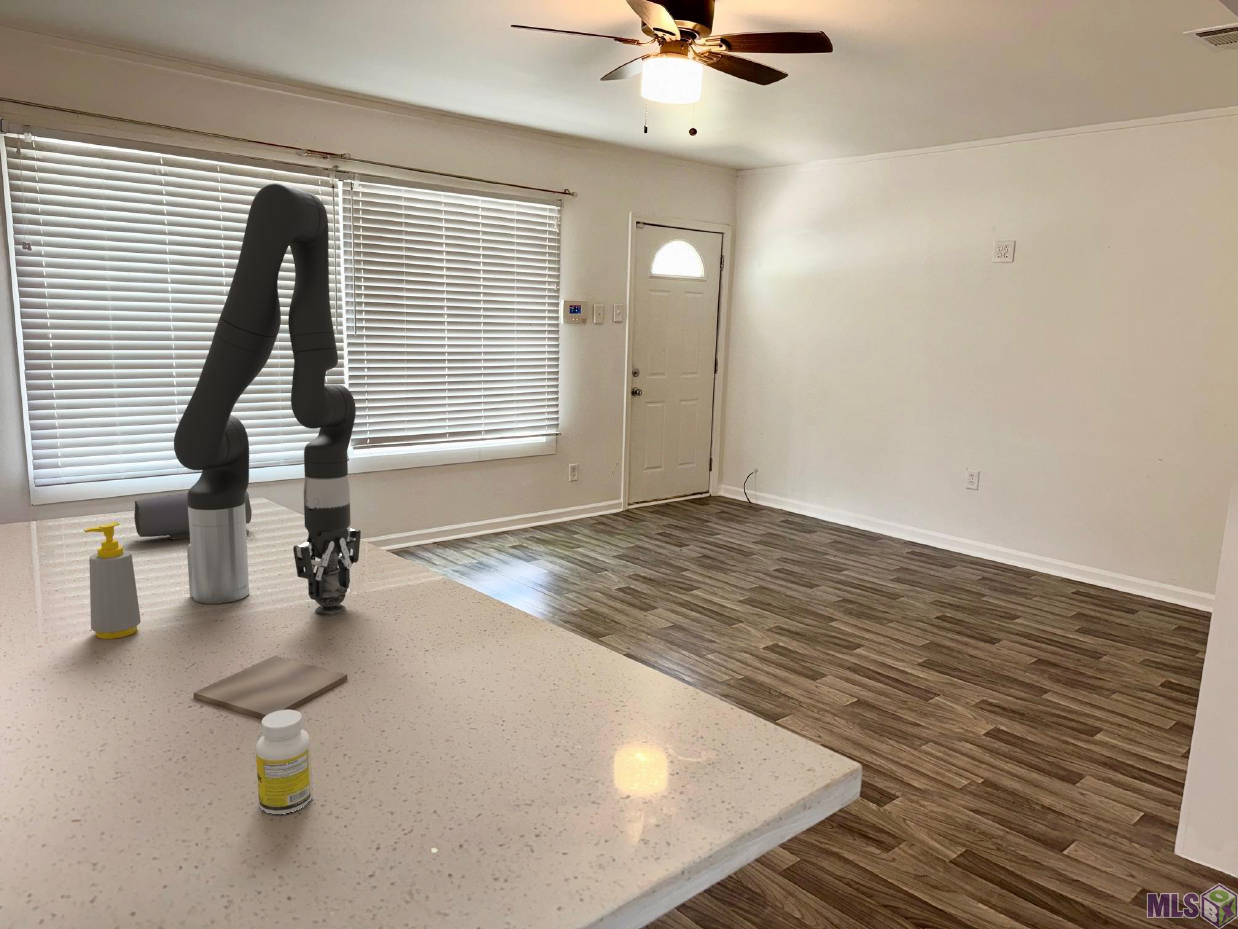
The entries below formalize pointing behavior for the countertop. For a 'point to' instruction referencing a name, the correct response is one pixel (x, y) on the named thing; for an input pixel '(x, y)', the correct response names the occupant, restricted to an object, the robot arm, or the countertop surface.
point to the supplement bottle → (283, 763)
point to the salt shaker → (331, 590)
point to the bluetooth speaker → (168, 516)
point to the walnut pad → (270, 687)
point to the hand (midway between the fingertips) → (329, 593)
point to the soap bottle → (112, 588)
